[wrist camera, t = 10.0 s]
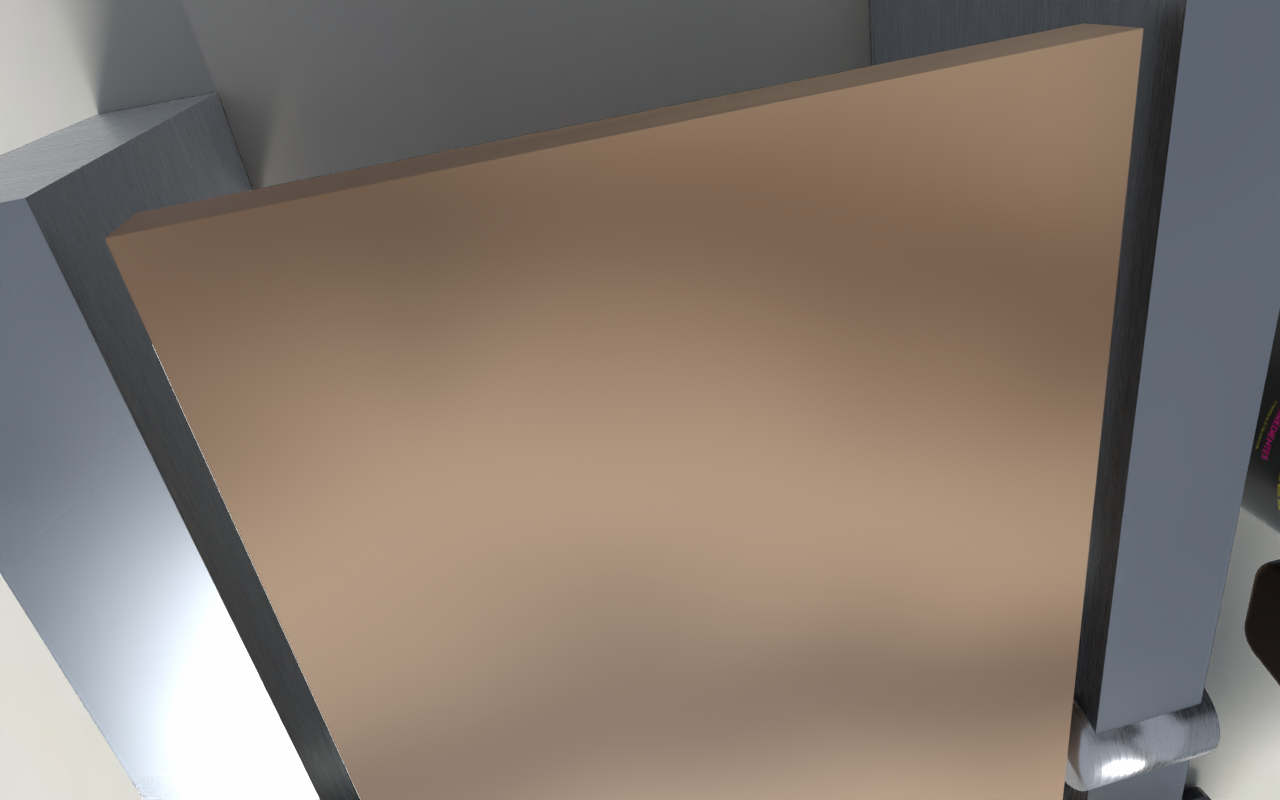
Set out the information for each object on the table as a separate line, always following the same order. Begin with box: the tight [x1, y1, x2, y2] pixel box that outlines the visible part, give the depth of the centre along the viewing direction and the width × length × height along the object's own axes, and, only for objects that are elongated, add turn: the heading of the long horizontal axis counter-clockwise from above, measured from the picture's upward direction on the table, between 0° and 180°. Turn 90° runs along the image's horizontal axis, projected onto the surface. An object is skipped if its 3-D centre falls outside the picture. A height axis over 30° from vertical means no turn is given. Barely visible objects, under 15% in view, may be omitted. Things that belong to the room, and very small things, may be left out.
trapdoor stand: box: [0, 0, 1280, 800], centre depth 17 cm, size 20×16×8 cm
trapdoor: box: [105, 23, 1143, 800], centre depth 16 cm, size 18×11×6 cm, turn 9°
